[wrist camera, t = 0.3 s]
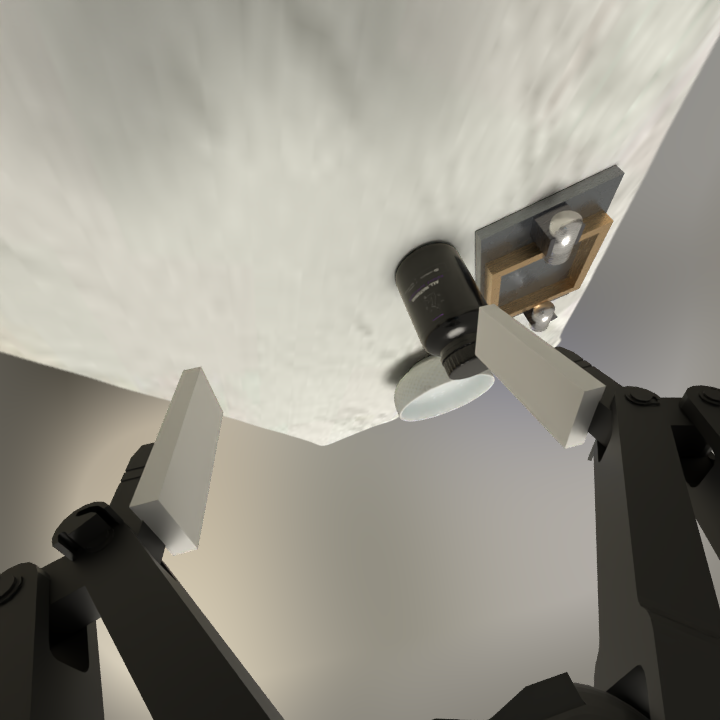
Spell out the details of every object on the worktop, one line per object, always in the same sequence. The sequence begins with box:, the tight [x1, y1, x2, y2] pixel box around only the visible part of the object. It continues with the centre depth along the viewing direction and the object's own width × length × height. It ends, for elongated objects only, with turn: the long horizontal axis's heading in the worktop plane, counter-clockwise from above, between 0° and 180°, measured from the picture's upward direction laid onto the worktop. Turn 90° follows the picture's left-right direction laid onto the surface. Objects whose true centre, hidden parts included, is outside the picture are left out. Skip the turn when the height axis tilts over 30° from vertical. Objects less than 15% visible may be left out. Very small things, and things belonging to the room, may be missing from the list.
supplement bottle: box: [395, 243, 488, 380], centre depth 31 cm, size 7×7×12 cm
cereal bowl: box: [394, 355, 495, 421], centre depth 56 cm, size 17×17×7 cm
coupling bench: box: [475, 165, 624, 332], centre depth 38 cm, size 21×13×5 cm, turn 18°
